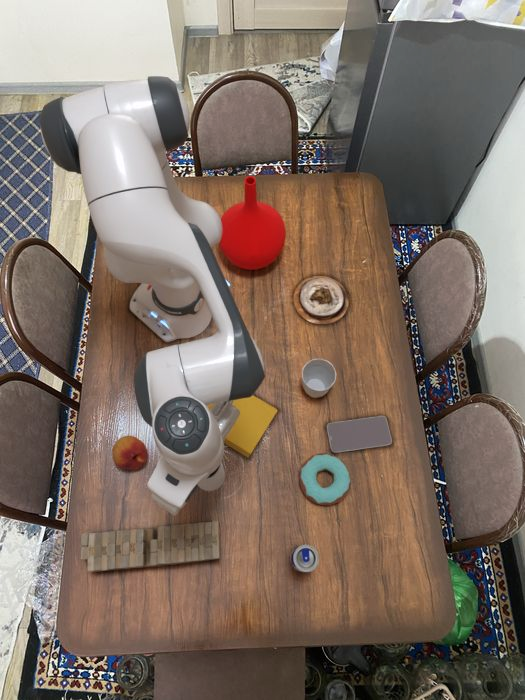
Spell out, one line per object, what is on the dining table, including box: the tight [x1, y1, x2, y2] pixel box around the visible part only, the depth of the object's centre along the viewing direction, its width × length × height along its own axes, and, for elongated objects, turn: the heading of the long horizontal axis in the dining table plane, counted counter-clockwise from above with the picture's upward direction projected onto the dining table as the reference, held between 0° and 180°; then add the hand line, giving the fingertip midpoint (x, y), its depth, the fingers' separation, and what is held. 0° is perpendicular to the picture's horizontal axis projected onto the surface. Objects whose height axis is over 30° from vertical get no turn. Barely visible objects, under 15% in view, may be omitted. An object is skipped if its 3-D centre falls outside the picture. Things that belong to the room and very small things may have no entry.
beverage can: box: [289, 544, 320, 573], centre depth 109 cm, size 5×5×15 cm
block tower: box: [80, 520, 221, 572], centre depth 113 cm, size 8×8×29 cm
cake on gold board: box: [293, 275, 349, 325], centre depth 140 cm, size 15×15×4 cm
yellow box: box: [207, 394, 279, 459], centre depth 128 cm, size 16×14×1 cm
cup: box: [301, 358, 337, 398], centre depth 127 cm, size 8×8×10 cm
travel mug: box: [198, 460, 226, 492], centre depth 97 cm, size 6×7×20 cm
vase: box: [218, 175, 287, 271], centre depth 134 cm, size 18×18×30 cm
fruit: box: [111, 435, 149, 470], centre depth 121 cm, size 8×8×8 cm
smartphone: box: [326, 415, 393, 454], centre depth 126 cm, size 7×1×15 cm
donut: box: [298, 452, 352, 506], centre depth 121 cm, size 12×12×4 cm
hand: (203, 462), depth 92 cm, fingers closed on travel mug, 6 cm apart
